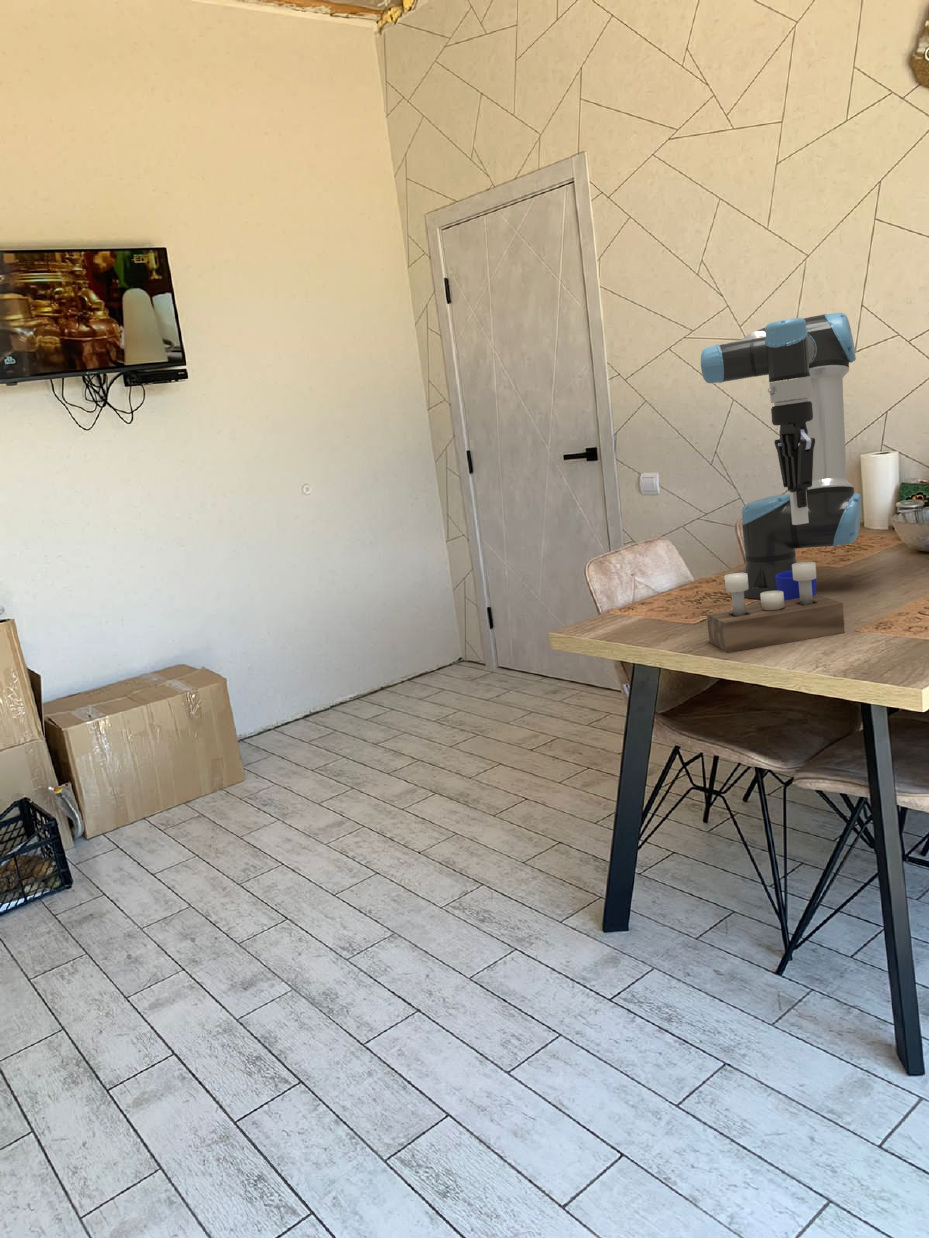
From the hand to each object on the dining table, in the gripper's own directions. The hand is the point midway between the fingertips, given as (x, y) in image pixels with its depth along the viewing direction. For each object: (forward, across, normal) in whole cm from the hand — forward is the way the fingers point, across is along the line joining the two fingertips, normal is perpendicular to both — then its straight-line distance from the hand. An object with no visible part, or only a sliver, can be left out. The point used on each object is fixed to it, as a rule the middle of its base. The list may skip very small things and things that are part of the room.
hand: (800, 523), depth 185 cm
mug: (+22, -13, +4) cm, 26 cm away
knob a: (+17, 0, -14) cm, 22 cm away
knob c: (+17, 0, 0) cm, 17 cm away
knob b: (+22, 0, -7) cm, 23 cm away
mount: (+22, 0, -7) cm, 23 cm away
